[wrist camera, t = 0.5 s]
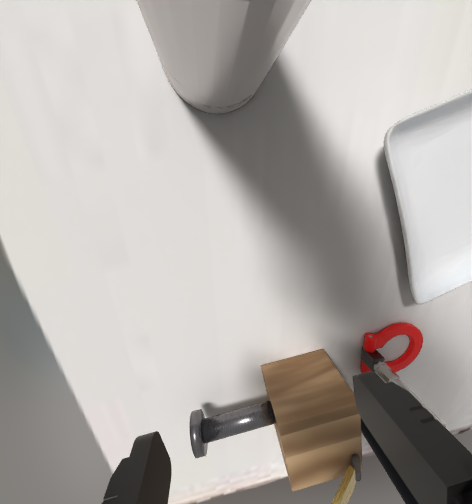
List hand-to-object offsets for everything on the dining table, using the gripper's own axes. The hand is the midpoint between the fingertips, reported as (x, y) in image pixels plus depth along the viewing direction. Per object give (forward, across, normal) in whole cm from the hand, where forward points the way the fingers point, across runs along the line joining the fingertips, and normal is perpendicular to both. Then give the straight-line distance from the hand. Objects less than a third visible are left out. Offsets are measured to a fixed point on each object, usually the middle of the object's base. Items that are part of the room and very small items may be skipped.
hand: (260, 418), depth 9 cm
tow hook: (+19, -20, +18) cm, 33 cm away
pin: (+17, +2, +18) cm, 25 cm away
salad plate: (+18, -29, -3) cm, 35 cm away
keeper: (+9, -6, +26) cm, 28 cm away
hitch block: (+19, -6, +21) cm, 29 cm away
